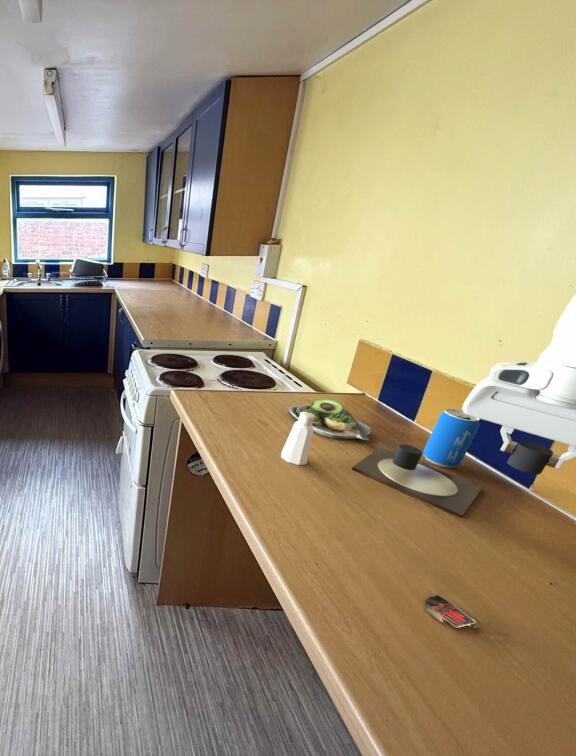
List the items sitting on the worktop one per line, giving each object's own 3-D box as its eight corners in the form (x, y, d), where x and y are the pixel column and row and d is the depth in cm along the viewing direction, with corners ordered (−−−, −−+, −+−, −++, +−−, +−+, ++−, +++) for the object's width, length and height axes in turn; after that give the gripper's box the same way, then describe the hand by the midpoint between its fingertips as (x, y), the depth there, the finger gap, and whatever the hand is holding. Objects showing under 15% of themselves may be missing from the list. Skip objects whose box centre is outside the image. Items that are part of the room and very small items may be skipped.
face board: (481, 489, 82) (483, 486, 82) (461, 518, 73) (463, 514, 73) (379, 449, 95) (380, 446, 95) (351, 469, 87) (352, 466, 86)
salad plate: (394, 445, 98) (402, 429, 96) (329, 447, 95) (335, 430, 93) (335, 410, 115) (340, 395, 113) (278, 410, 113) (282, 395, 111)
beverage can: (430, 466, 90) (452, 418, 85) (415, 451, 95) (436, 406, 91) (464, 472, 88) (490, 423, 83) (448, 457, 94) (470, 411, 89)
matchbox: (433, 593, 57) (434, 591, 57) (480, 624, 53) (482, 621, 53) (417, 606, 55) (418, 603, 55) (465, 639, 51) (467, 636, 51)
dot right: (542, 469, 68) (554, 449, 66) (539, 477, 65) (552, 456, 64) (509, 458, 71) (520, 438, 69) (505, 465, 68) (516, 445, 67)
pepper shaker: (275, 456, 90) (289, 412, 85) (287, 449, 93) (300, 406, 89) (300, 468, 86) (315, 422, 82) (311, 460, 89) (327, 416, 85)
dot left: (417, 466, 88) (425, 450, 86) (411, 472, 85) (419, 456, 84) (395, 457, 91) (402, 442, 89) (389, 463, 88) (396, 447, 87)
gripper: (687, 402, 56) (629, 484, 61) (487, 360, 71) (454, 429, 76) (690, 412, 53) (628, 498, 58) (479, 366, 68) (445, 437, 73)
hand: (528, 458), depth 67 cm, fingers closed on dot right, 4 cm apart
